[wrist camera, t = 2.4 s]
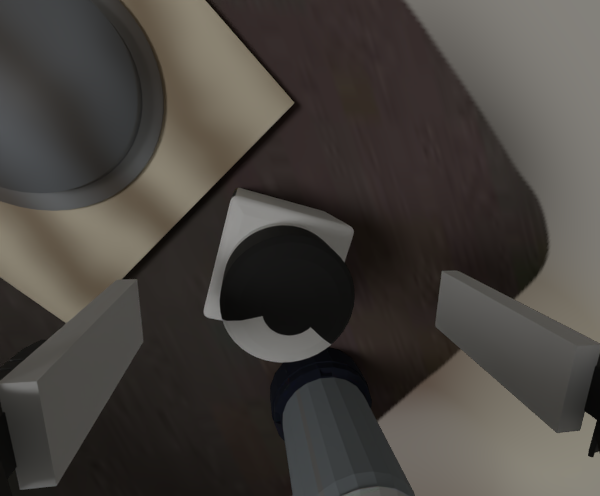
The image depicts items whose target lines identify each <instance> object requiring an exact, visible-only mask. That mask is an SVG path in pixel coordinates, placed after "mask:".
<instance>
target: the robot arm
mask: <svg viewBox="0 0 600 496" xmlns="http://www.w3.org/2000/svg"><path fill="white" fill-rule="evenodd" d="M435 327H436V328H437V329H439V330H440V331H441V332H442V333H443V334H444V335H445V336H447V337H448V338H449V339H450V340H451V341H452V342H453V343H455V344H456V345H457V346H458V347H459V348H460V349H461V350H463V351H464V352H465V353H466V354H467V355H468V356H470V357H471V358H472V359H473V360H474V361H475V362H476V363H477V364H479V365H480V366H481V367H482V368H483V369H484V370H486V371H487V372H488V373H489V374H490V375H491V376H492V377H493V378H495V379H496V380H497V381H498V382H499V383H501V385H503V386H504V387H505V388H506V389H507V390H508V391H510V392H511V393H512V394H513V395H514V396H515V397H516V398H517V399H519V400H520V401H521V402H522V403H523V404H524V405H526V406H527V407H528V408H529V409H530V410H531V411H532V412H534V413H535V414H536V415H537V416H538V417H539V418H540V419H541V420H543V421H544V422H545V423H546V424H547V425H548V426H550V427H551V428H552V429H553V430H554V431H555V432H556V433H560V432H569V431H579V430H580V429H581V425H582V421H583V417H584V413H585V412H587V413H588V414H590V415H591V416H592V417H594V418H595V419H596V420H597V422H596V426H595V429H594V433H593V437H592V441H591V444H590V448H589V453H588V456H590V457H593V456H594V453H595V452H598V451H599V452H600V343H598V342H596V341H594V340H592V339H590V338H588V337H586V336H584V335H582V334H581V333H578V332H577V331H575V330H573V329H571V328H569V327H567V326H565V325H563V324H561V323H559V322H557V321H555V320H553V319H551V318H549V317H547V316H545V315H543V314H541V313H539V312H538V311H535V310H534V309H531V308H530V307H528V306H526V305H524V304H522V303H520V302H518V301H516V300H514V299H512V298H510V297H508V296H506V295H504V294H502V293H500V292H498V291H497V290H495V289H493V288H491V287H489V286H487V285H485V284H483V283H481V282H479V281H477V280H475V279H473V278H471V277H469V276H467V275H465V274H463V273H461V272H459V271H442V274H441V282H440V290H439V298H438V306H437V314H436V322H435ZM142 343H143V333H142V323H141V313H140V303H139V293H138V283H137V279H125V280H116V281H115V282H113V283H112V284H111V285H110V286H109V287H108V288H107V289H105V290H104V291H103V292H102V293H101V294H100V295H99V296H97V297H96V298H95V299H94V300H93V301H92V302H90V303H89V304H88V305H87V306H86V307H85V308H84V309H82V310H81V311H80V312H79V313H78V314H77V315H75V316H74V317H73V318H72V319H71V320H70V321H69V322H67V323H66V324H65V325H64V326H63V327H62V328H60V329H59V330H58V331H57V332H56V333H55V334H54V335H52V336H51V337H50V338H49V339H48V340H40V341H38V342H36V343H34V344H32V345H30V346H28V347H26V348H24V349H22V350H21V351H20V352H19V353H17V354H16V355H15V356H14V357H12V358H11V359H10V360H9V362H6V363H5V364H4V365H3V366H1V367H0V496H12V494H11V491H10V488H9V485H8V481H7V479H8V478H9V476H10V475H11V474H12V472H13V471H14V470H16V475H17V479H18V484H19V488H20V490H23V489H33V488H42V487H52V486H57V484H58V483H59V481H60V479H61V478H62V476H63V474H64V473H65V471H66V469H67V468H68V466H69V464H70V463H71V461H72V459H73V458H74V456H75V454H76V453H77V451H78V449H79V448H80V446H81V444H82V443H83V441H84V439H85V438H86V436H87V435H88V433H89V431H90V430H91V428H92V426H93V425H94V423H95V421H96V420H97V418H98V416H99V415H100V413H101V411H102V410H103V408H104V406H105V405H106V403H107V401H108V400H109V398H110V396H111V395H112V393H113V391H114V390H115V388H116V386H117V385H118V383H119V381H120V380H121V378H122V376H123V375H124V373H125V371H126V370H127V368H128V366H129V365H130V363H131V361H132V360H133V358H134V356H135V355H136V353H137V351H138V350H139V348H140V346H141V345H142Z"/></svg>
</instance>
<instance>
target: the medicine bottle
mask: <svg viewBox="0 0 600 496" xmlns="http://www.w3.org/2000/svg"><path fill="white" fill-rule="evenodd" d="M353 234H354V230H353V228H352V227H351V226H349V225H347V224H346V223H344V222H342V221H340V220H339V219H337V218H335V217H333V216H332V215H330V214H328V213H326V212H325V211H322V210H318V209H314V208H311V207H307V206H304V205H300V204H296V203H293V202H289V201H286V200H282V199H278V198H275V197H271V196H267V195H264V194H260V193H257V192H253V191H249V190H246V189H242V188H237V189H235V191H234V193H233V196H232V198H231V201H230V205H229V209H228V213H227V217H226V221H225V225H224V229H223V233H222V237H221V241H220V246H219V250H218V254H217V258H216V262H215V266H214V270H213V274H212V278H211V282H210V286H209V291H208V295H207V299H206V303H205V307H204V315H205V316H206V317H208V318H212V319H217V320H222V321H223V323H224V326H225V328H226V330H227V332H228V333H229V335H230V336H231V338H232V339H233V340H234V342H235V343H236V344H237V345H239V346H240V347H241V348H242V349H243V350H245V351H246V352H248V353H249V354H251V355H253V356H255V357H257V358H260V359H263V360H267V361H272V362H282V363H283V362H295V361H300V360H303V359H307V358H310V357H312V356H314V355H316V354H318V353H320V352H321V351H323V350H325V349H326V348H327V347H329V346H330V345H331V344H332V343H333V342H334V341H335V340H336V339H337V338H338V337H339V336H340V335H341V333H342V332H343V331H344V329H345V327H346V325H347V324H348V322H349V319H350V317H351V314H352V310H353V306H354V285H353V280H352V277H351V274H350V272H349V270H348V268H347V266H346V264H345V263H344V262H345V259H346V256H347V253H348V250H349V247H350V244H351V240H352V237H353Z"/></svg>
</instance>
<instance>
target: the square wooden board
mask: <svg viewBox="0 0 600 496" xmlns="http://www.w3.org/2000/svg"><path fill="white" fill-rule="evenodd" d="M293 104H294V102H293V101H292V99H291V98H290V97H289V96H288V95H287V94H286V92H285V91H284V90H283V89H282V88H281V87H280V86H279V84H278V83H277V82H276V81H275V80H274V79H273V78H272V76H271V75H270V74H269V73H268V72H267V71H266V69H265V68H264V67H263V66H262V65H261V64H260V63H259V61H258V60H257V59H256V58H255V57H254V56H253V55H252V53H251V52H250V51H249V50H248V49H247V48H246V47H245V45H244V44H243V43H242V42H241V41H240V40H239V38H238V37H237V36H236V35H235V34H234V33H233V32H232V30H231V29H230V28H229V27H228V26H227V25H226V24H225V22H224V21H223V20H222V19H221V18H220V17H219V15H218V14H217V13H216V12H215V11H214V10H213V9H212V7H211V6H210V5H209V4H208V3H207V2H206V1H205V0H0V277H1V278H2V279H4V280H5V281H7V282H8V283H9V284H11V285H12V286H14V287H15V288H17V289H18V290H19V291H21V292H22V293H24V294H25V295H27V296H28V297H29V298H31V299H32V300H34V301H35V302H37V303H38V304H39V305H41V306H42V307H44V308H45V309H47V310H48V311H49V312H51V313H52V314H54V315H55V316H57V317H58V318H59V319H61V320H62V321H64V322H65V323H67V322H69V321H70V320H71V319H72V318H73V317H74V316H75V315H77V314H78V313H79V312H80V311H81V310H82V309H84V308H85V307H86V306H87V305H88V304H89V303H90V302H92V301H93V300H94V299H95V298H96V297H97V296H99V295H100V294H101V293H102V292H103V291H104V290H105V289H107V288H108V287H109V286H110V285H111V284H112V283H113V282H115V281H116V280H122V279H123V278H124V277H125V276H126V275H127V273H128V272H129V271H130V270H131V269H132V268H133V267H134V266H135V265H136V264H137V263H138V262H139V261H140V260H141V259H142V258H143V257H144V256H145V255H146V254H147V253H148V252H149V251H150V250H151V249H152V248H153V247H154V246H155V245H156V244H157V243H158V242H159V241H160V240H161V239H162V238H163V237H164V236H165V235H166V234H167V233H168V232H169V231H170V230H171V229H172V228H173V227H174V226H175V225H176V224H177V223H178V222H179V220H180V219H181V218H182V217H183V216H184V215H185V214H186V213H187V212H188V211H189V210H190V209H191V208H192V207H193V206H194V205H195V204H196V203H197V202H198V201H199V200H200V199H201V198H202V197H203V196H204V195H205V194H206V193H207V192H208V191H209V190H210V189H211V188H212V187H213V186H214V185H215V184H216V183H217V182H218V181H219V180H220V179H221V178H222V177H223V176H224V175H225V174H226V173H227V172H228V171H229V170H230V169H231V167H232V166H233V165H234V164H235V163H236V162H237V161H238V160H239V159H240V158H241V157H242V156H243V155H244V154H245V153H246V152H247V151H248V150H249V149H250V148H251V147H252V146H253V145H254V144H255V143H256V142H257V141H258V140H259V139H260V138H261V137H262V136H263V135H264V134H265V133H266V132H267V131H268V130H269V129H270V128H271V127H272V126H273V125H274V124H275V123H276V122H277V121H278V120H279V119H280V118H281V117H282V115H283V114H284V113H285V112H286V111H287V110H288V109H289V108H290V107H291V106H292V105H293Z"/></svg>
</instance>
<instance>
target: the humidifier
mask: <svg viewBox="0 0 600 496" xmlns="http://www.w3.org/2000/svg"><path fill="white" fill-rule="evenodd" d="M270 400H271V409H272V417H273V420H274V423H275V426H276V428H277V431H278V433H279V436H280V437H281V438H282V439H283V440H284V441H285V445H286V452H287V459H288V466H289V472H290V479H291V486H292V493H293V496H415V495H414V492H413V490H412V488H411V486H410V484H409V482H408V480H407V478H406V476H405V474H404V472H403V471H402V469H401V467H400V465H399V463H398V461H397V459H396V457H395V455H394V453H393V451H392V450H391V447H390V446H389V444H388V442H387V440H386V438H385V436H384V434H383V432H382V430H381V428H380V426H379V424H378V422H377V420H376V418H375V417H374V415H373V413H372V411H371V403H372V400H371V396H370V393H369V389H368V386H367V383H366V381H365V379H364V377H363V375H362V373H361V372H360V370H359V368H358V367H357V365H356V364H355V363H354V361H353V360H352V359H351V357H349V356H348V355H346V354H345V353H343V352H341V351H340V350H337V349H332V348H328V347H327V348H326V349H325V350H323V351H321V352H320V353H318V354H316V355H314V356H312V357H310V358H307V359H303V360H300V361H295V362H284V363H283V364H282V365H281V367H280V368H279V369H278V370H277V372H276V373H275V375H274V378H273V381H272V383H271V386H270Z"/></svg>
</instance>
